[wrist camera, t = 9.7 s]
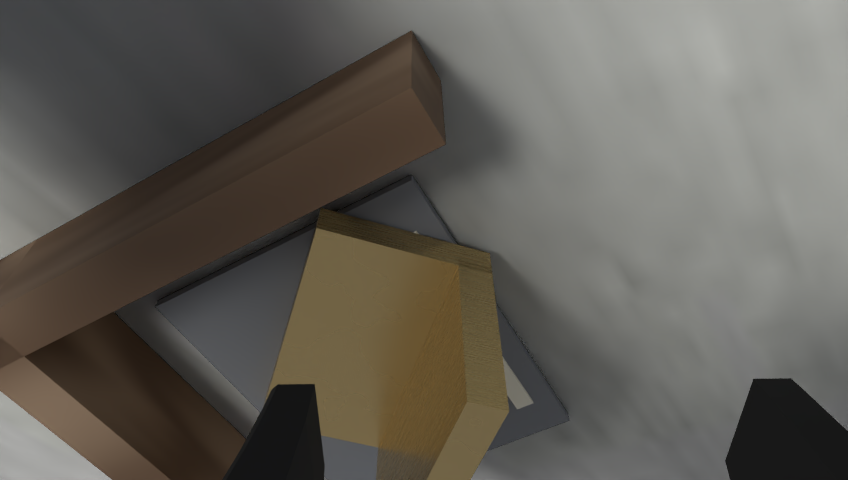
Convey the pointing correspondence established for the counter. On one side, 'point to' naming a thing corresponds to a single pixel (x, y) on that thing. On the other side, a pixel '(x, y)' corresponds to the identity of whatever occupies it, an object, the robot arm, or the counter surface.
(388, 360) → the bronze bracket
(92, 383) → the corner walls
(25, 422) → the counter surface
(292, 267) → the mat
